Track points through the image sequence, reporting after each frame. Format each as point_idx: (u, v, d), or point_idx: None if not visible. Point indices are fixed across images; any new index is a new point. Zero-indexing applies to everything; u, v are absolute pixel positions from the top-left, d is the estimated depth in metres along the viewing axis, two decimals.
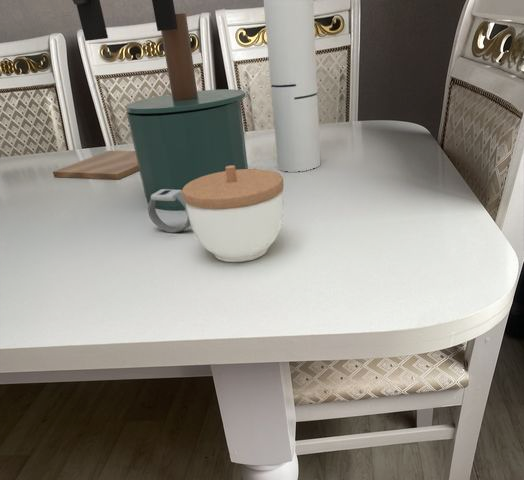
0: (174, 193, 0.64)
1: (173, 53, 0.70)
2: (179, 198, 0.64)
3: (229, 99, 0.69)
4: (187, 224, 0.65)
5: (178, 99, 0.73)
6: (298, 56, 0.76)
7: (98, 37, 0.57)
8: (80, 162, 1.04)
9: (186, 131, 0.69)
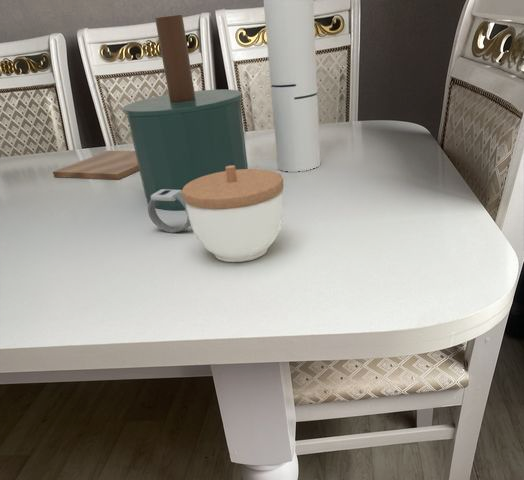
0: (174, 193, 0.64)
1: (169, 54, 0.70)
2: (179, 198, 0.64)
3: (224, 101, 0.69)
4: (187, 224, 0.65)
5: (175, 101, 0.73)
6: (298, 56, 0.76)
7: None
8: (80, 162, 1.04)
9: (186, 131, 0.69)
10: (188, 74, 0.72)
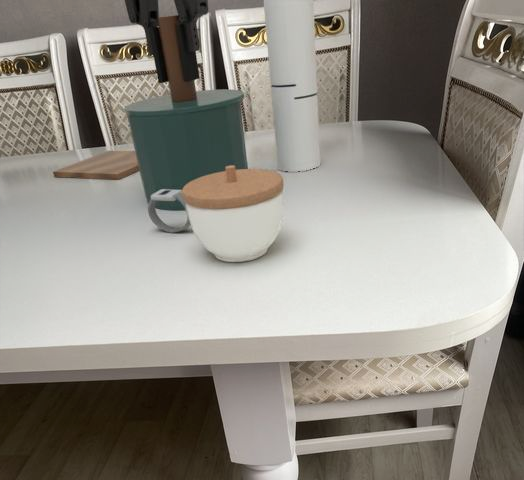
0: (174, 193, 0.64)
1: (171, 54, 0.70)
2: (179, 198, 0.64)
3: (225, 101, 0.69)
4: (187, 224, 0.65)
5: (176, 101, 0.73)
6: (298, 56, 0.76)
7: (196, 77, 0.72)
8: (80, 162, 1.04)
9: (186, 131, 0.69)
10: None
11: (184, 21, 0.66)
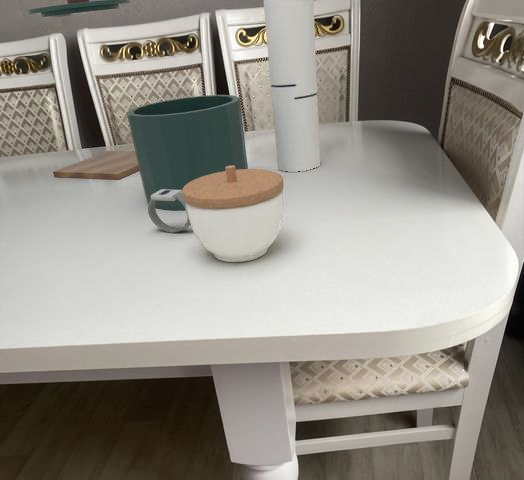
0: (174, 193, 0.64)
1: None
2: (179, 198, 0.64)
3: (107, 0, 0.82)
4: (187, 224, 0.65)
5: None
6: (298, 56, 0.76)
7: None
8: (80, 162, 1.04)
9: (186, 131, 0.69)
10: None
11: None
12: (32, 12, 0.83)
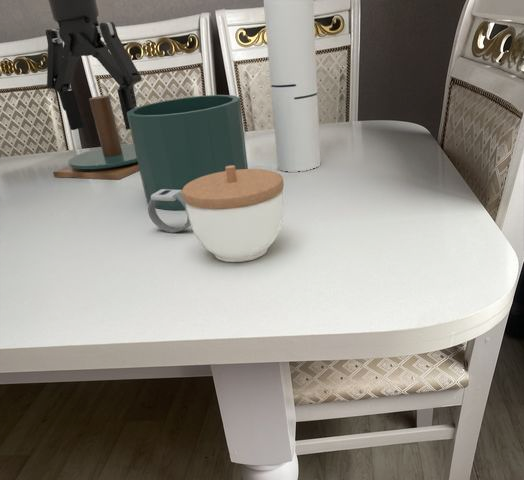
0: (174, 193, 0.64)
1: (100, 124, 0.97)
2: (179, 198, 0.64)
3: None
4: (187, 224, 0.65)
5: (106, 155, 1.00)
6: (298, 56, 0.76)
7: None
8: None
9: (186, 131, 0.69)
10: (115, 137, 0.99)
11: (123, 86, 0.90)
12: (74, 167, 0.97)
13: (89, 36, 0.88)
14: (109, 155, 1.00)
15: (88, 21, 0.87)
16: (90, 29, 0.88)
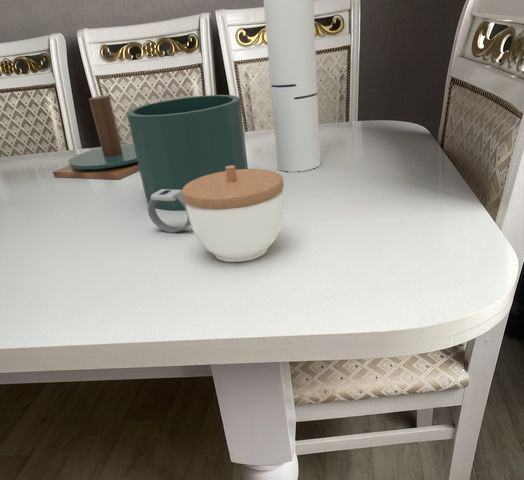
0: (174, 193, 0.64)
1: (100, 124, 0.97)
2: (179, 198, 0.64)
3: None
4: (187, 224, 0.65)
5: (106, 155, 1.00)
6: (298, 56, 0.76)
7: None
8: None
9: (186, 131, 0.69)
10: (115, 137, 0.99)
11: None
12: (74, 167, 0.97)
13: None
14: (109, 155, 1.00)
15: None
16: None
